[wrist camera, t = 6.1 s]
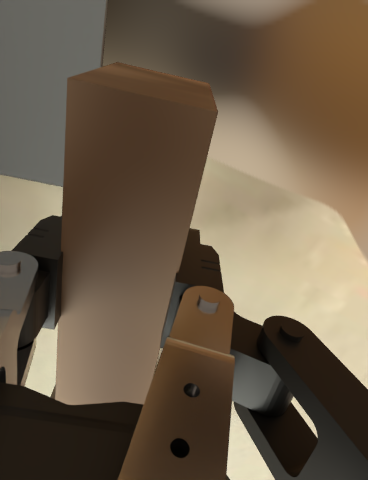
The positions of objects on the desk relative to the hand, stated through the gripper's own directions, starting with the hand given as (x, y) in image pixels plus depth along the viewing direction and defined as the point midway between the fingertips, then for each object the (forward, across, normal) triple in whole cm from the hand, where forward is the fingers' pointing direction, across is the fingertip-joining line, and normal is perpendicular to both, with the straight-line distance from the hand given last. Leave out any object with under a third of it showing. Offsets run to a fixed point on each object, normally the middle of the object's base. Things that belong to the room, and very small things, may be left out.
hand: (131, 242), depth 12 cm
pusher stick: (+2, 0, +3) cm, 3 cm away
